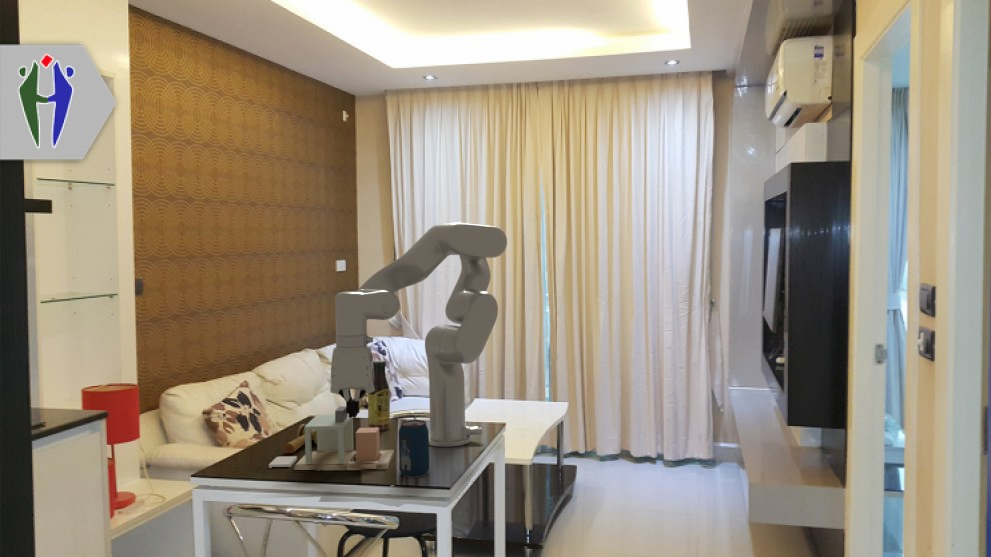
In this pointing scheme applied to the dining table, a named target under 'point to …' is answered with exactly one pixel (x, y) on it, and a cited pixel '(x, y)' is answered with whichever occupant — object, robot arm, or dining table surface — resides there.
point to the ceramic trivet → (283, 461)
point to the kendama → (300, 439)
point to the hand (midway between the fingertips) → (353, 416)
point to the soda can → (414, 448)
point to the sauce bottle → (379, 399)
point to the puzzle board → (330, 461)
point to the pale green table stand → (330, 433)
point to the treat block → (367, 444)
